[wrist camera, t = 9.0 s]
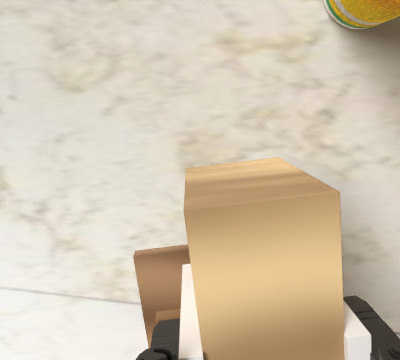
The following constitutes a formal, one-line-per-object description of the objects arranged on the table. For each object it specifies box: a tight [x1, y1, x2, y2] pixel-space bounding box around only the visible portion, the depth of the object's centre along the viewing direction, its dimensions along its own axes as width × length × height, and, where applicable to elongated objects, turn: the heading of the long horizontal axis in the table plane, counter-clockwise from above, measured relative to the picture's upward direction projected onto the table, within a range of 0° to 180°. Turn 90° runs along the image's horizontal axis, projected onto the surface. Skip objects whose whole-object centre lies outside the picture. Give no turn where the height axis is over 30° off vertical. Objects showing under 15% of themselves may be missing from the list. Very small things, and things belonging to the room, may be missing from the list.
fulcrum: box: [133, 245, 191, 348], centre depth 24 cm, size 12×14×6 cm
